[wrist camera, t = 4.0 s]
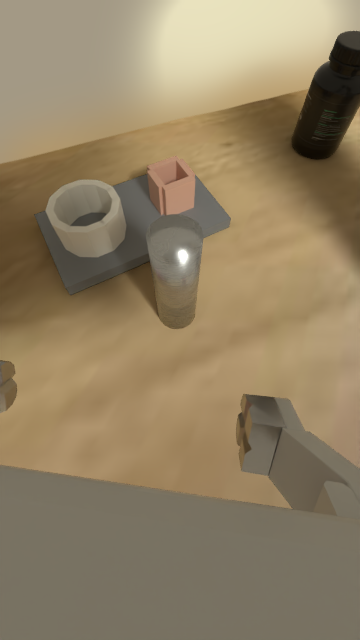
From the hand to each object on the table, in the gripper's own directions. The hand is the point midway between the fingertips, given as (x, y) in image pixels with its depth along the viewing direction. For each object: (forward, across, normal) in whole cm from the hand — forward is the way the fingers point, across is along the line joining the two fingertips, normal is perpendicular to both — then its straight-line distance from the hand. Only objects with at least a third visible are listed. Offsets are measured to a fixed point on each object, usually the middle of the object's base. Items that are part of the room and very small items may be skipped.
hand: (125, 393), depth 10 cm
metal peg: (+21, 0, +4) cm, 21 cm away
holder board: (+29, +7, -5) cm, 30 cm away
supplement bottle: (+42, -17, -18) cm, 49 cm away
